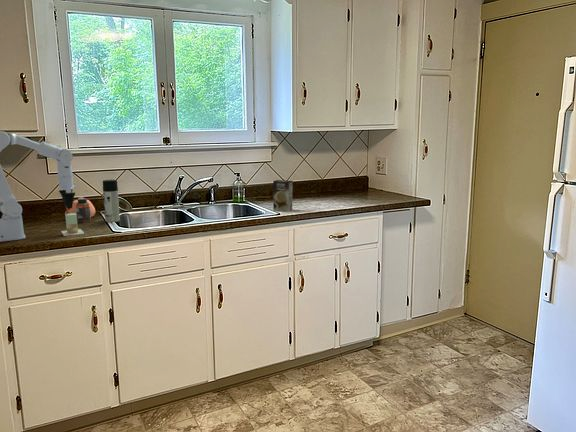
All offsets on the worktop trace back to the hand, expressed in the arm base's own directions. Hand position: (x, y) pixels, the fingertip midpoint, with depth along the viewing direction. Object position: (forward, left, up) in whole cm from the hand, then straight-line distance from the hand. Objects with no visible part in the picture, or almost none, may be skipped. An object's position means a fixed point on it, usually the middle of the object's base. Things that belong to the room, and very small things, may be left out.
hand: (68, 207), depth 212 cm
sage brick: (0, -8, -6) cm, 10 cm away
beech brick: (0, -8, -10) cm, 13 cm away
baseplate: (0, -8, -10) cm, 13 cm away
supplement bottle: (+8, +15, -11) cm, 20 cm away
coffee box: (+105, -9, -11) cm, 106 cm away
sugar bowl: (+8, +26, -11) cm, 30 cm away
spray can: (+20, +9, -11) cm, 24 cm away
